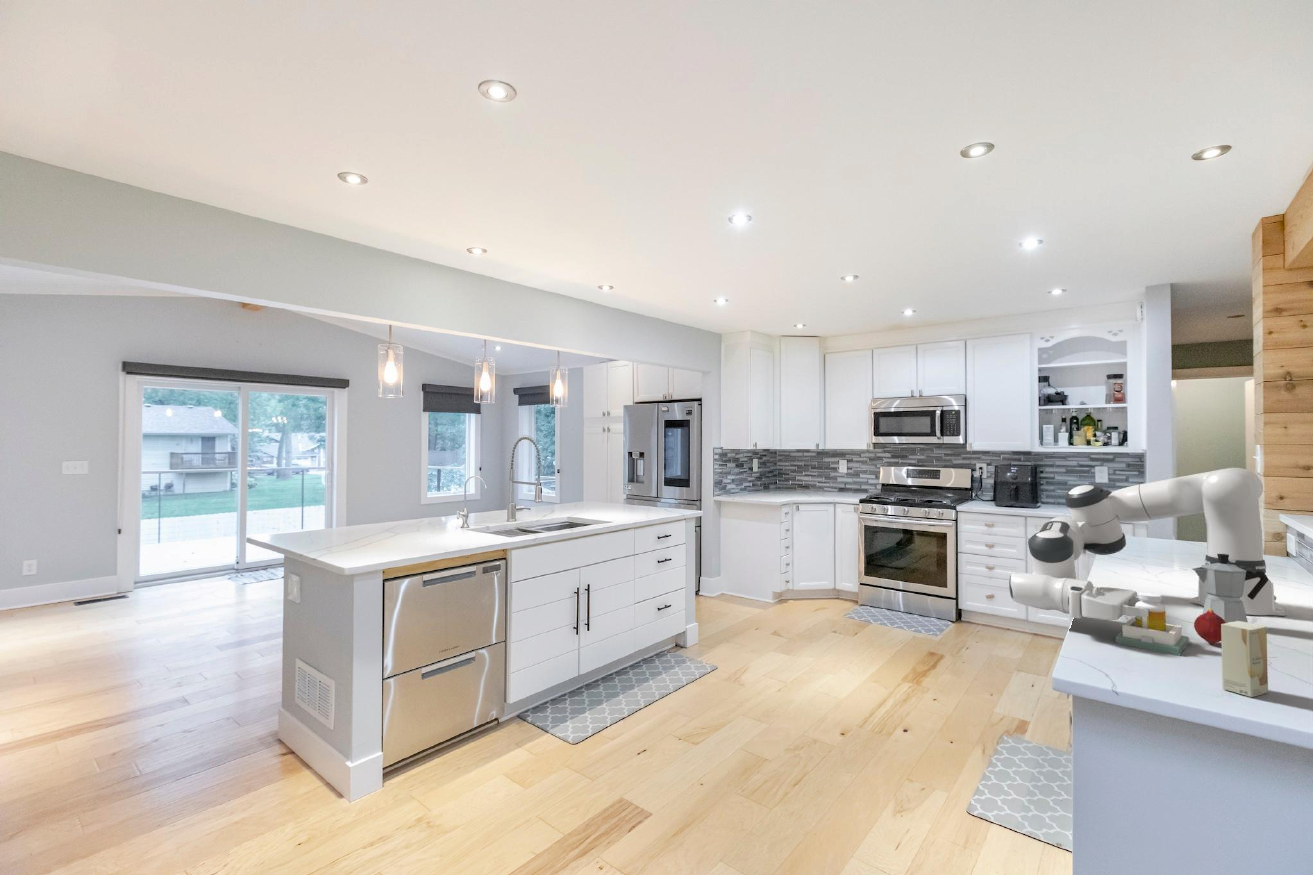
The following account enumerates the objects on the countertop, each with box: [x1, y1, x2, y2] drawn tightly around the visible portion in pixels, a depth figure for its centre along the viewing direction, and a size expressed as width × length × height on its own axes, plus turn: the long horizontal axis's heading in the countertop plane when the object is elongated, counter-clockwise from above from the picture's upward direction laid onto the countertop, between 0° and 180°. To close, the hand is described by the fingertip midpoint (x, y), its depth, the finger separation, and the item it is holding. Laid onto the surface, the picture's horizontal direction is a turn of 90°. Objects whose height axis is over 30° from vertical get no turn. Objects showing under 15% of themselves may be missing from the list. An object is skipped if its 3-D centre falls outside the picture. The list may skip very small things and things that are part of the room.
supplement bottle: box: [1135, 591, 1167, 632], centre depth 136 cm, size 5×5×10 cm
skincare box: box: [1221, 621, 1269, 698], centre depth 109 cm, size 6×4×12 cm
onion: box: [1193, 608, 1226, 645], centre depth 135 cm, size 6×6×8 cm
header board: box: [1115, 617, 1190, 656], centre depth 136 cm, size 12×11×4 cm
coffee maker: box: [1191, 554, 1270, 623], centre depth 148 cm, size 15×9×18 cm, turn 68°
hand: (1153, 609), depth 136 cm, fingers open, 8 cm apart
